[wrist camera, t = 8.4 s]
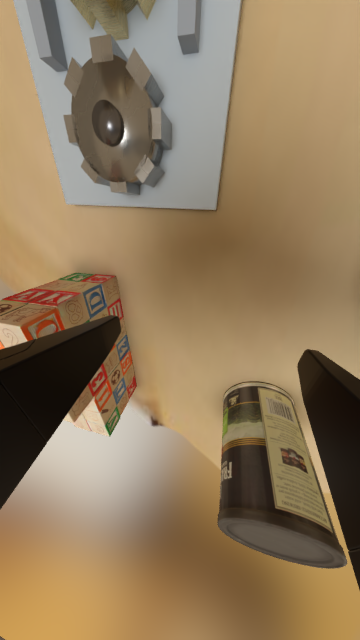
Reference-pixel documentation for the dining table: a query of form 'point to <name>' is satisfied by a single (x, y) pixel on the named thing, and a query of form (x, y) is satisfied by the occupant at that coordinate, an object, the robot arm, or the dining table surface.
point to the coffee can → (272, 480)
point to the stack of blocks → (68, 311)
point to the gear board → (172, 78)
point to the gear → (117, 118)
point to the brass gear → (112, 14)
